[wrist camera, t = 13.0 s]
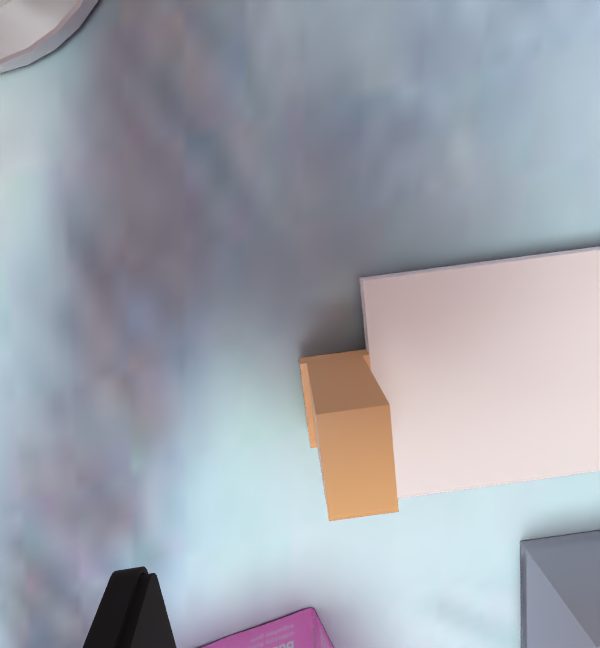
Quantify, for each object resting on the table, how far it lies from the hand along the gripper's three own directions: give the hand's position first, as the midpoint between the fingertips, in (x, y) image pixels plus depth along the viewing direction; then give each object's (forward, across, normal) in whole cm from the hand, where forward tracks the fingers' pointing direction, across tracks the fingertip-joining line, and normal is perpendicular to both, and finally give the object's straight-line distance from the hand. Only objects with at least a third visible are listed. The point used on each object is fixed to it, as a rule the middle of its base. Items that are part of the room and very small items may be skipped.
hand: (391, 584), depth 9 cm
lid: (+12, -8, +2) cm, 15 cm away
